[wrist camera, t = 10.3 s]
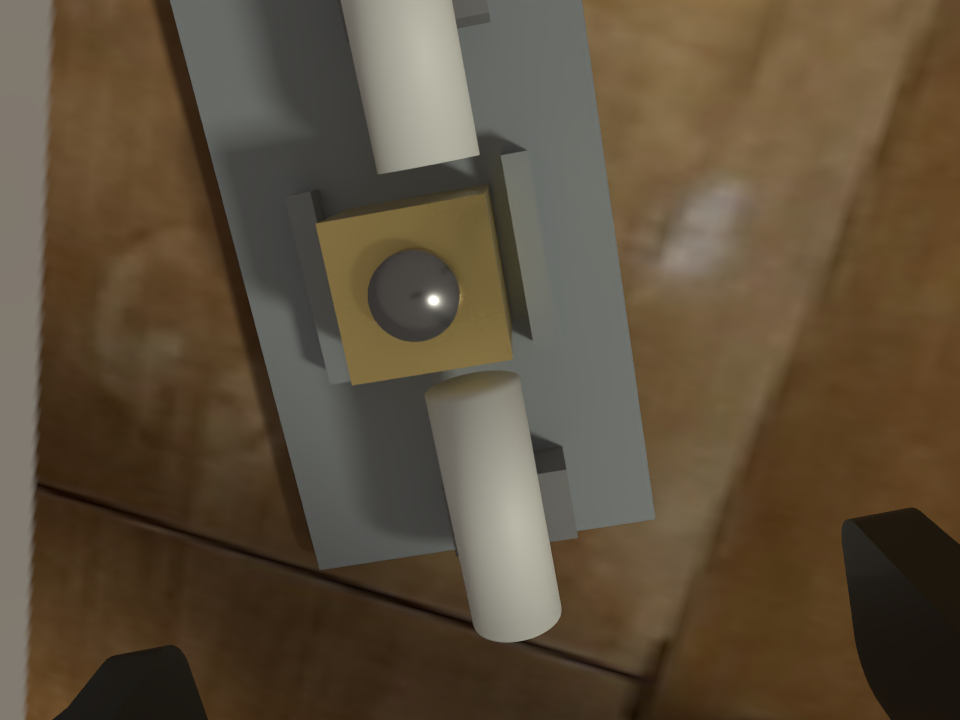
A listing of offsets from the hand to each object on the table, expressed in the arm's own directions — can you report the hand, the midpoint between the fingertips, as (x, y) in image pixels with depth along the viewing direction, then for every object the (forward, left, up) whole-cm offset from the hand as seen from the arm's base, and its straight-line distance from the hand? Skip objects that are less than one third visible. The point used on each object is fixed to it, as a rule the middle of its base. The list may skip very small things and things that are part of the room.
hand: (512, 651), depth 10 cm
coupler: (+2, +2, -18) cm, 18 cm away
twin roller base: (+2, +2, -19) cm, 19 cm away
